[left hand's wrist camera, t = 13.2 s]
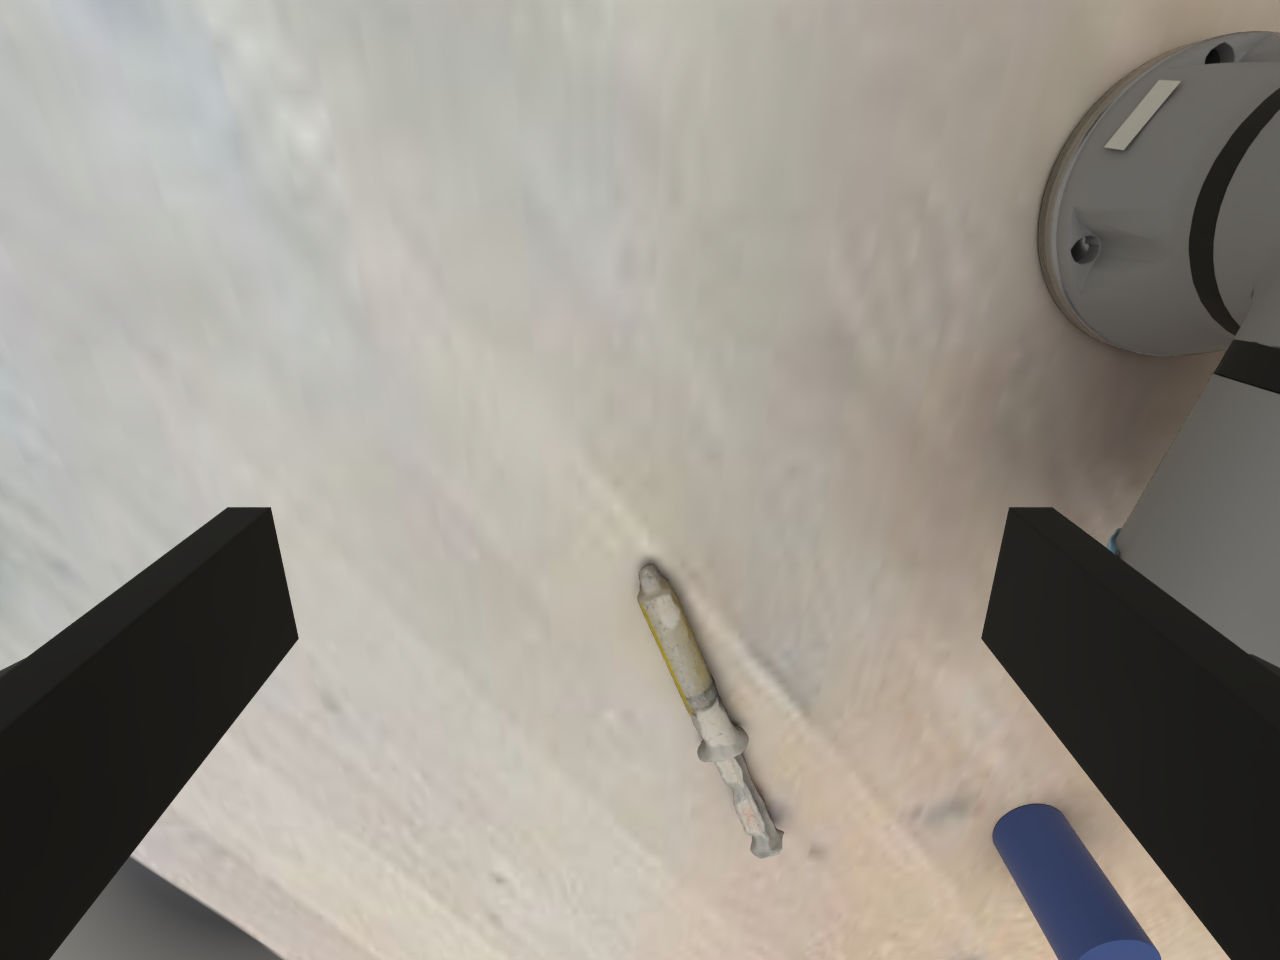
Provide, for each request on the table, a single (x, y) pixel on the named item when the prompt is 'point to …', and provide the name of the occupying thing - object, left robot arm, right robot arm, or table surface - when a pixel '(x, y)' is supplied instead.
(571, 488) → the table surface
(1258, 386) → the left robot arm
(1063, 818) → the can
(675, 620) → the syringe
